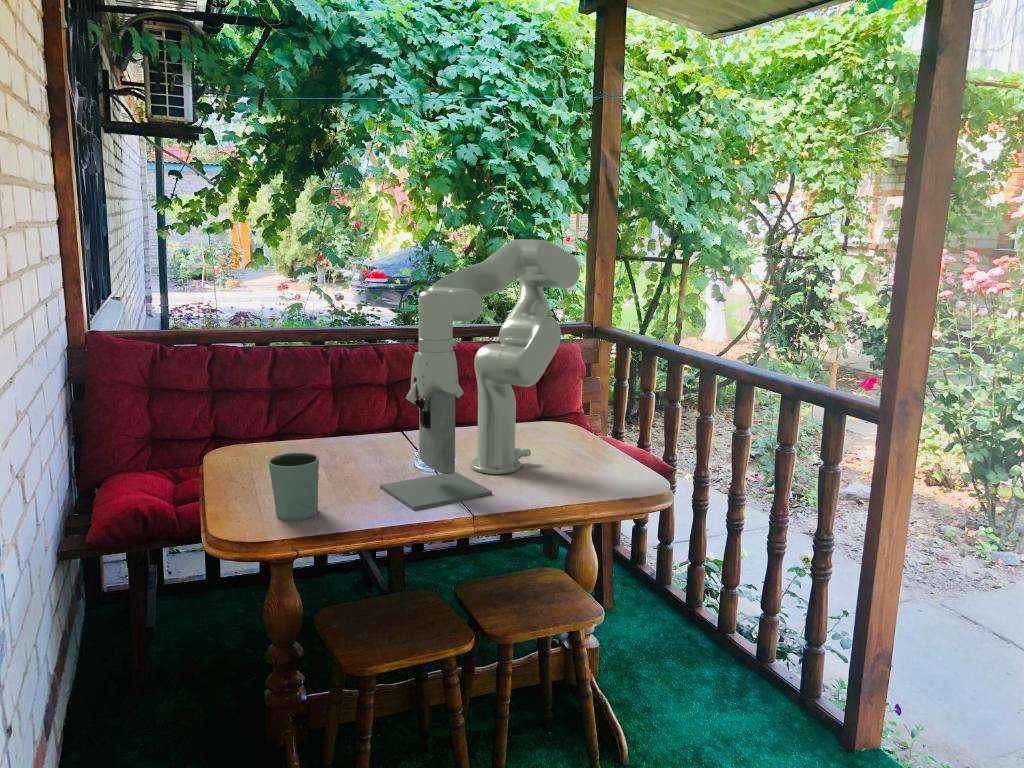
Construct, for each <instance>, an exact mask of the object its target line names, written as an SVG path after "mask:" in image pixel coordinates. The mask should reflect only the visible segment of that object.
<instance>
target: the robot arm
mask: <svg viewBox="0 0 1024 768" xmlns="http://www.w3.org/2000/svg"><path fill="white" fill-rule="evenodd" d="M580 275H581V268H580V264H579V261H578V260H577V259H576V257H575V256H574V255H572V254H571V253H570V252H568V251H566V250H564V249H563V248H561V247H560V246H558V245H557V244H554V243H553V242H552V241H551V242H550V241H548V240H545V239H529V238H528V239H527V238H526V239H525V238H522V239H521V238H519V239H518V238H517V239H516V238H515V239H513V240H510V241H508V242H507V243H505V244H504V245H503V246H502V247H500V248H499V249H498V250H496V251H495V252H494V253H492V254H490V255H489V256H488V257H487V258H485V259H484V260H483V261H481V262H479V263H475V264H472V265H469V266H467V267H464V268H461V269H458V270H456V271H452V272H450V273H448V274H447V275H445V276H442V278H440V279H439V280H437V281H436V282H435V283H433V284H432V285H431V286H430V287H429V288H428V289H427V290H423V291H420V293H419V294H418V351H417V352H416V351H415V352H414V356H413V360H412V365H411V366H412V367H411V377H410V389H409V391H408V392H407V394H406V396H405V399H406V400H407V401H409V402H411V403H413V404H414V405H415V406H416V407H417V409H418V410H419V409H420V423H421V426H422V427H424V428H426V429H429V428H430V411H428V407H429V402H430V398H431V393H432V392H440V391H445V392H448V393H451V394H454V395H455V402H456V401H458V399H459V398H460V397H461V396H463V395H464V390H463V389H462V387H461V385H460V384H459V371H458V362H457V356H456V353H455V351H454V347H455V346H458V340H456V339H454V335H453V331H454V330H453V326H454V324H453V323H454V322H462V323H469V322H473V321H475V320H477V319H478V318H479V317H480V316H481V315H482V313H483V310H484V305H485V304H484V300H483V297H484V296H485V297H486V296H490V295H495V294H499V293H501V292H503V291H505V290H506V289H507V288H508V287H509V286H510V285H512V284H513V283H514V282H515V281H516V280H518V287H519V296H518V300H517V301H516V303H515V305H514V306H513V308H512V310H511V311H510V312H509V314H508V316H507V317H506V319H505V320H504V321H503V323H502V325H501V327H500V329H499V333H498V340H499V342H500V343H487V344H484V345H483V346H480V348H479V349H478V350H477V352H476V353H475V356H474V361H473V365H474V372H475V378H476V383H477V385H476V386H477V458H474V459H473V460H472V461H471V465H470V466H471V468H472V469H473V470H474V471H476V472H479V473H482V474H488V475H489V474H490V475H493V474H494V475H503V474H511V473H514V472H517V471H519V470H520V469H521V467H522V464H521V461H520V459H521V458H523V457H524V458H525V457H530V456H531V454H532V450H531V449H530V448H525V449H521V448H519V447H517V448H516V417H517V411H516V410H517V401H516V394H515V391H514V389H513V387H512V386H517V387H527V388H529V387H532V386H534V385H536V383H538V382H539V381H540V379H541V378H542V376H543V375H544V373H545V371H546V369H547V367H548V366H549V364H550V363H551V362H552V359H553V358H554V356H555V354H556V353H557V350H558V349H559V348H560V347H559V346H560V343H561V340H562V339H561V338H562V331H561V326H560V324H559V322H558V321H557V320H556V319H555V318H553V317H551V316H548V314H549V309H550V308H549V301H548V300H547V298H546V296H545V293H544V289H543V288H555V289H570V288H572V287H574V286H575V285H576V284H577V282H578V281H579V278H580ZM416 396H420V397H419V399H418V398H417V397H416Z"/></svg>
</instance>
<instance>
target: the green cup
mask: <svg viewBox="0 0 1024 768" xmlns="http://www.w3.org/2000/svg"><path fill="white" fill-rule="evenodd" d="M267 462H268V467H269V474H270V480H271V485H272V486H271V487H272V488H271V489H272V494H273V503H274V506H275V507H274V510H275V515H276V518H278V519H279V518H280V520H283V521H288V520H289V521H290V522H293V521H294V522H295V521H296V522H297V521H304V520H308V519H310V517H311V518H313V517H315V516H316V515H317V514H318V513H319V510H318V509H319V500H318V499H319V479H320V478H319V476H320V475H319V470H320V469H319V467H320V456H318V455H317V454H315V453H311V452H289V453H284V454H279V455H275V456H273V457H271V458H270V459H269V460H268V461H267ZM307 518H308V519H307ZM303 519H304V520H303Z"/></svg>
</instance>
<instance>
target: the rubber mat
mask: <svg viewBox="0 0 1024 768" xmlns="http://www.w3.org/2000/svg"><path fill="white" fill-rule="evenodd" d="M379 488H380V489H381V490H382V491H383V492H386V493H387V494H388V495H390V496H391V497H393V498H394V499H396V500H397V501H398V502H401V503H402V504H403V505H404V506H406V507H408V508H409V509H411V510H412V511H417V510H418V511H419V510H422V509H426V508H432V507H436V505H437V506H441V505H440V504H442V505H446V504H445V503H447V504H451V503H450V502H452V503H456V501H457V502H460V501H461V500H462V501H466V500H465V499H467V500H471V499H470V498H472V499H476V498H475V497H477V498H481V497H480V496H482V497H486V496H485V495H487V496H491V495H490V494H493V491H492V490H491V489H489V488H487V487H485V486H484V485H481V484H479V483H478V482H476V481H473V480H472V479H470V478H468V477H466V476H464V475H462V474H461V473H459V472H457V471H455V473H453V474H442V473H439V474H438V473H437V474H433V475H427V476H422V477H418V478H417V477H416V478H411V479H405V480H399V481H394V482H388V483H383V484H379ZM431 506H432V507H431Z"/></svg>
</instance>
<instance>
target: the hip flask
mask: <svg viewBox="0 0 1024 768" xmlns="http://www.w3.org/2000/svg"><path fill="white" fill-rule="evenodd" d="M418 396H419V395H418ZM419 397H420V396H419ZM418 410H419V411H418V413H419V416H418V418H419V419H418V421H419V423H418V424H419V426H418V427H419V428H418V431H419V433H418V434H419V435H418V436H419V438H418V439H419V440H418V441H419V442H418V445H419V447H418V449H419V451H418V452H419V453H418V455H419V460H421V462H422V463H423V464H425V465H426V466H427V467H429V468H430V469H432V470H434V471H435V472H438V473H439V474H453V473H455V472H456V471H455V470H456V468H455V467H456V401H455V395H454V394H451V393H448V392H445V391H440V392H432V393H431V398H430V402H429V407H428V411H430V428H429V429H426V428H424V427H422V426H421V423H420V409H418Z"/></svg>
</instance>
